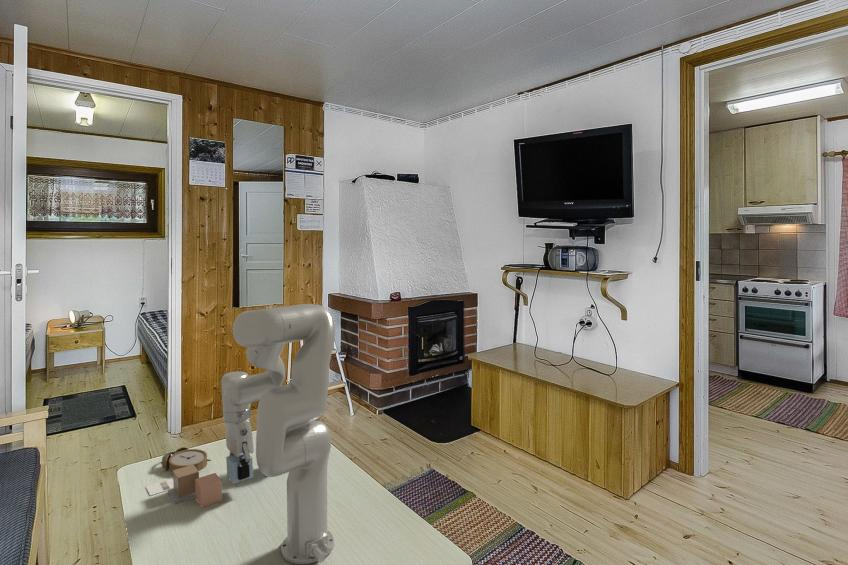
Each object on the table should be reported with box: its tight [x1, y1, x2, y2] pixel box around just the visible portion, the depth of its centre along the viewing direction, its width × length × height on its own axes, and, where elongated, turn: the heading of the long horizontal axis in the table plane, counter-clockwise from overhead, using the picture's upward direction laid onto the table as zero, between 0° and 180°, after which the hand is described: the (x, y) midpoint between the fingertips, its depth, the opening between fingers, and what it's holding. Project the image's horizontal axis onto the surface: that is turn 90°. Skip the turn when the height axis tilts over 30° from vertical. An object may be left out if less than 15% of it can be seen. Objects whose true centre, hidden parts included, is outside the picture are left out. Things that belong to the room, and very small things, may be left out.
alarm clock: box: [160, 446, 212, 474], centre depth 153 cm, size 11×5×15 cm
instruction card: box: [145, 478, 174, 497], centre depth 141 cm, size 6×9×1 cm, turn 131°
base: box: [167, 465, 200, 505], centre depth 137 cm, size 8×8×7 cm
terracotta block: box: [195, 472, 223, 508], centre depth 134 cm, size 6×6×6 cm
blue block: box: [225, 453, 254, 484], centre depth 137 cm, size 6×6×6 cm
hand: (240, 473), depth 137 cm, fingers closed on blue block, 5 cm apart
